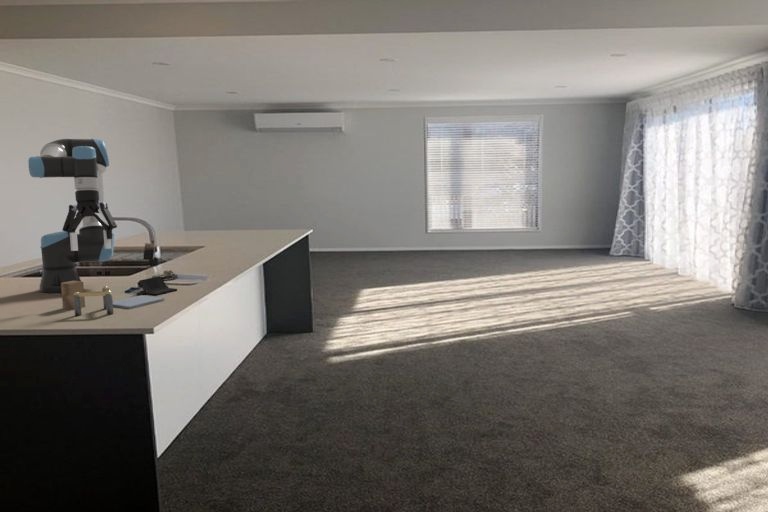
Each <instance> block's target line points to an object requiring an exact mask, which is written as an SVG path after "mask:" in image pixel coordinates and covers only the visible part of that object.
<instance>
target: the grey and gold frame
mask: <svg viewBox="0 0 768 512" xmlns="http://www.w3.org/2000/svg"><path fill="white" fill-rule="evenodd" d="M83 296H84V297H102V301H103V303H102V304H103V310H106V315H107V316H108V315H113V314H114V306H113V302H114V301H113V293H112V291H111V290H110V288H109V287H108V285H105V286H103V287H102V291H84V292H75V293H74V294H73V299H74V309H73V310H74V316H75V317H79V316H82V308H81V301H80V297H83Z"/></svg>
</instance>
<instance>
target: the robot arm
mask: <svg viewBox="0 0 768 512" xmlns="http://www.w3.org/2000/svg"><path fill="white" fill-rule="evenodd" d="M27 161H28V162H27V163H28V172H29V175H30V177H31V178H39V179H44V178H73V179H74V189H75V190H76V191H75V193H74V194H75V195H74V196H75V201H76V204H69V205H68V212H67V215H66V218H65V221H64V223H63V227H62V229H61V230H62V231H57V232H52V233H47V234H44V235H42V236H41V237H40V250H41V261H42V270H43V271H42V275H41V279H40V283H39V292H40V293H50V294H51V293H53V294H54V293H62V291H61V283H64V282H69V281H81V282H82V280H81V278H80V276H79V273H78V271H77V268H76V267H77V266H76V264H77V263H90V262H92V263H93V262H104V261H110V260H111V259H112V258H113V256H114V247H115V245H114V244H115V233H114V232H113V230H114V229H116V228H118V225H117V223H116V221H115V219H114V218H113V216H112V214H111V212H110V210H109V206H108V203H107V202H105V197H104V194H105V193H104V192H105V191H104V180H103V174H104V173H105V172H106V171H107V169H106V168H108V167H109V166H110V161H109V156H108V151H107V147H106V143H105V142H104V140H103V139H98V138H97V139H94V138H89V139H88V138H62V139H61V138H60V139H57V140H52V141H50V142H48V143H46V144H45V145H43V146H42V148H41V150H40V155H38V156H37V155H35V156H30V157H29V158H28V160H27ZM81 222H82V226H81V227H80V228H79V226H80V224H81ZM78 228H79V230H78V232H76V230H77V229H78Z"/></svg>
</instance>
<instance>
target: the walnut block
mask: <svg viewBox="0 0 768 512" xmlns="http://www.w3.org/2000/svg"><path fill="white" fill-rule="evenodd" d="M84 286H85V285H84V281H82V280H81V281H69V282H64V283H61V291H62V292H61V300H62V301H61V302H62V308H63V309H64V310H65V309H66V310H74V299H73V294H74V293H75V292H85V289H84V288H85V287H84ZM80 301H81V309H82V308H86V296H83V297H80Z"/></svg>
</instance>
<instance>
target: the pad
mask: <svg viewBox="0 0 768 512" xmlns="http://www.w3.org/2000/svg"><path fill="white" fill-rule="evenodd" d="M163 301H165V298H163V297H158V296H151V295H137V296H132V297H128V298H125V299H124V298H123V299H120V300H115V301H113V308H114V307H115V308H120V309H121V308H122V309H127V310H131V309H135V308H138V307H139V308H140V307H143V306H147V305H151V304H155V303H159V302H163Z"/></svg>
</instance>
